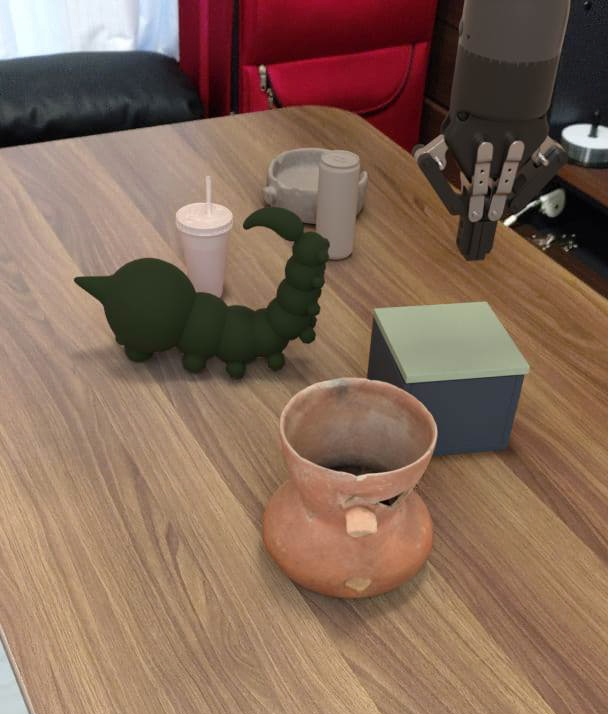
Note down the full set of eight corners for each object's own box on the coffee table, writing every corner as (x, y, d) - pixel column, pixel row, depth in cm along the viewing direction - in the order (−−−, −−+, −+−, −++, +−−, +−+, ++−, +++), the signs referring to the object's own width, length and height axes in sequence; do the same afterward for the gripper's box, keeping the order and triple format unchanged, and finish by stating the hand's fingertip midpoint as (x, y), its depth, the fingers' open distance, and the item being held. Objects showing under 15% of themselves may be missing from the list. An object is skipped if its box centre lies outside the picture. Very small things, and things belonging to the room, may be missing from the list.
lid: (528, 374, 89) (530, 366, 88) (405, 383, 87) (406, 375, 86) (485, 308, 97) (486, 301, 97) (373, 315, 96) (373, 308, 95)
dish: (303, 173, 139) (305, 138, 135) (385, 202, 133) (389, 166, 130) (240, 208, 130) (240, 171, 127) (325, 240, 125) (327, 203, 121)
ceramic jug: (439, 629, 79) (467, 498, 69) (260, 626, 78) (262, 494, 68) (417, 482, 91) (438, 354, 82) (262, 479, 91) (265, 350, 81)
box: (507, 449, 96) (525, 375, 89) (392, 460, 94) (403, 384, 88) (471, 381, 104) (485, 308, 97) (365, 389, 102) (373, 316, 96)
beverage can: (340, 265, 120) (347, 170, 112) (307, 254, 122) (311, 159, 114) (359, 250, 123) (368, 156, 115) (327, 239, 125) (333, 146, 116)
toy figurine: (310, 356, 109) (85, 324, 107) (336, 194, 95) (80, 156, 94) (306, 406, 102) (66, 374, 100) (334, 240, 89) (58, 199, 87)
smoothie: (231, 308, 112) (230, 191, 102) (176, 306, 112) (169, 188, 102) (235, 280, 117) (234, 165, 107) (181, 277, 116) (176, 162, 107)
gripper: (438, 60, 68) (409, 283, 80) (615, 56, 70) (560, 274, 82) (410, 24, 73) (386, 239, 85) (575, 22, 75) (529, 232, 87)
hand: (472, 256), depth 83 cm, fingers closed
